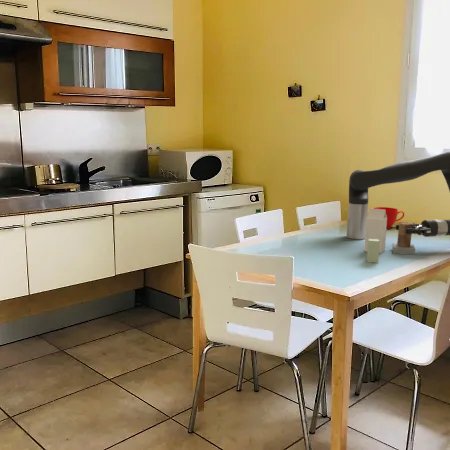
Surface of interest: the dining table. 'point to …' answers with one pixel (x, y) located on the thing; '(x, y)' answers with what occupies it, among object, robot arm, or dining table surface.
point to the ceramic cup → (391, 215)
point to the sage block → (373, 250)
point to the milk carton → (376, 227)
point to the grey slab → (403, 249)
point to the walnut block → (404, 235)
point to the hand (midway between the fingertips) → (400, 229)
